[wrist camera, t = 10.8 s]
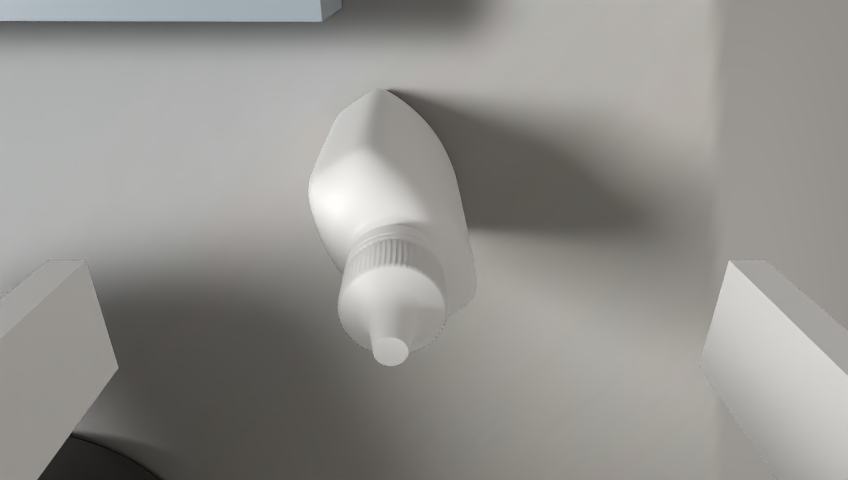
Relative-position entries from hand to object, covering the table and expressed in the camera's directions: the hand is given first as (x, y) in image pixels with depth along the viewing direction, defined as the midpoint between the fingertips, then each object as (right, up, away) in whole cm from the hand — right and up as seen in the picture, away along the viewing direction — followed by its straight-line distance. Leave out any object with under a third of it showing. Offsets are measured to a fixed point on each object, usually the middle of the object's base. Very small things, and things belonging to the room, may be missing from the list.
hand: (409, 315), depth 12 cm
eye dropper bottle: (-1, +5, +10) cm, 11 cm away
